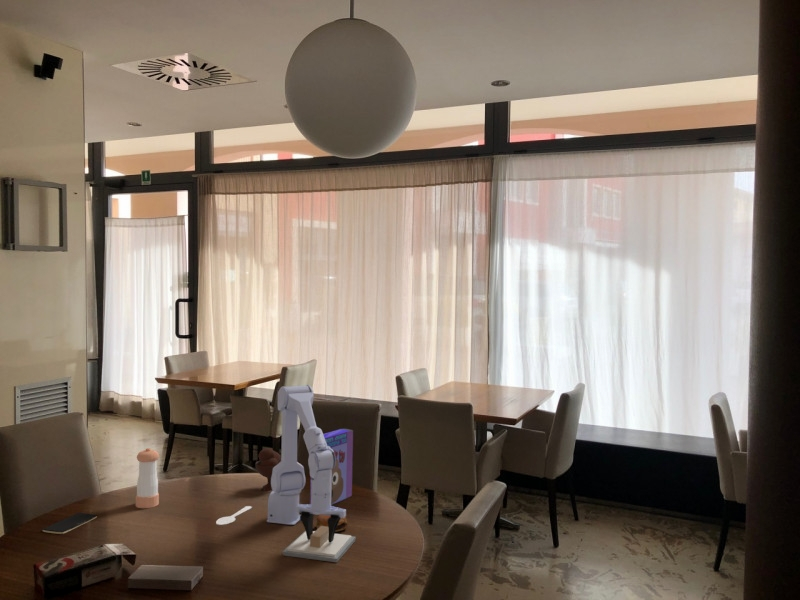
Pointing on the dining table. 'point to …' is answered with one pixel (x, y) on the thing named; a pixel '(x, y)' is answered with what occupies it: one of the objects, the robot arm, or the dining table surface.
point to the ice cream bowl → (267, 465)
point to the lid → (320, 543)
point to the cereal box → (340, 464)
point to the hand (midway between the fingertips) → (320, 539)
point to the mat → (320, 557)
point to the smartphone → (69, 523)
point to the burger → (323, 521)
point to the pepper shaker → (147, 479)
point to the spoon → (231, 517)
